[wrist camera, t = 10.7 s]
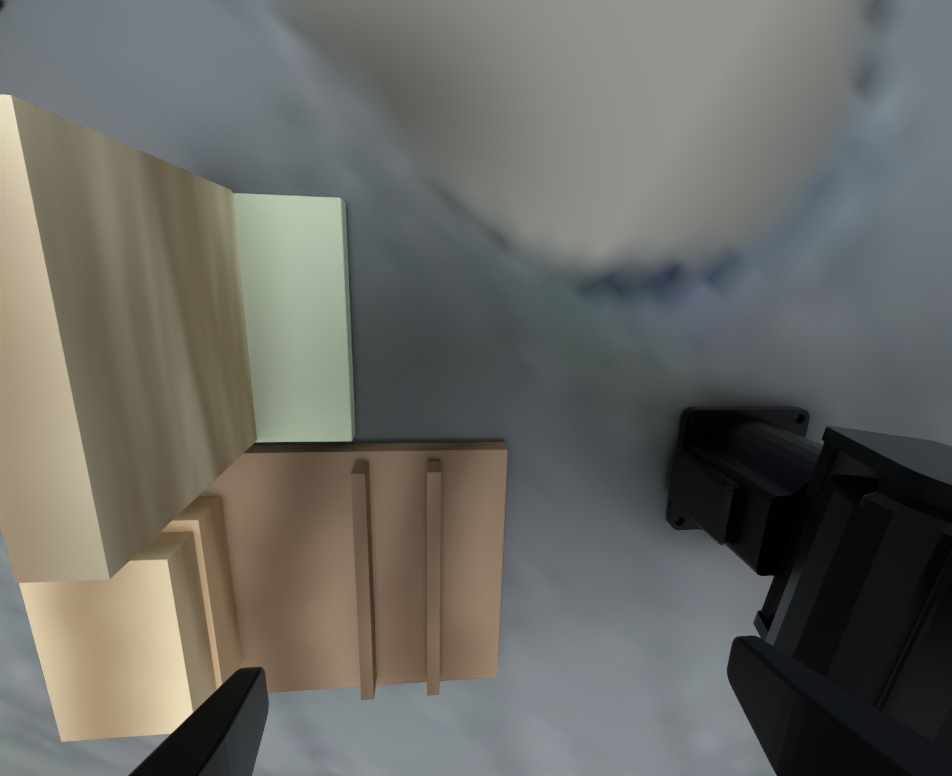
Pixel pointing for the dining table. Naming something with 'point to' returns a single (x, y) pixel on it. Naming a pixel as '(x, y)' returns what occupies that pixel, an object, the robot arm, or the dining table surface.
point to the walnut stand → (366, 561)
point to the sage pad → (297, 315)
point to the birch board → (110, 345)
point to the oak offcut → (214, 580)
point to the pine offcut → (125, 644)
